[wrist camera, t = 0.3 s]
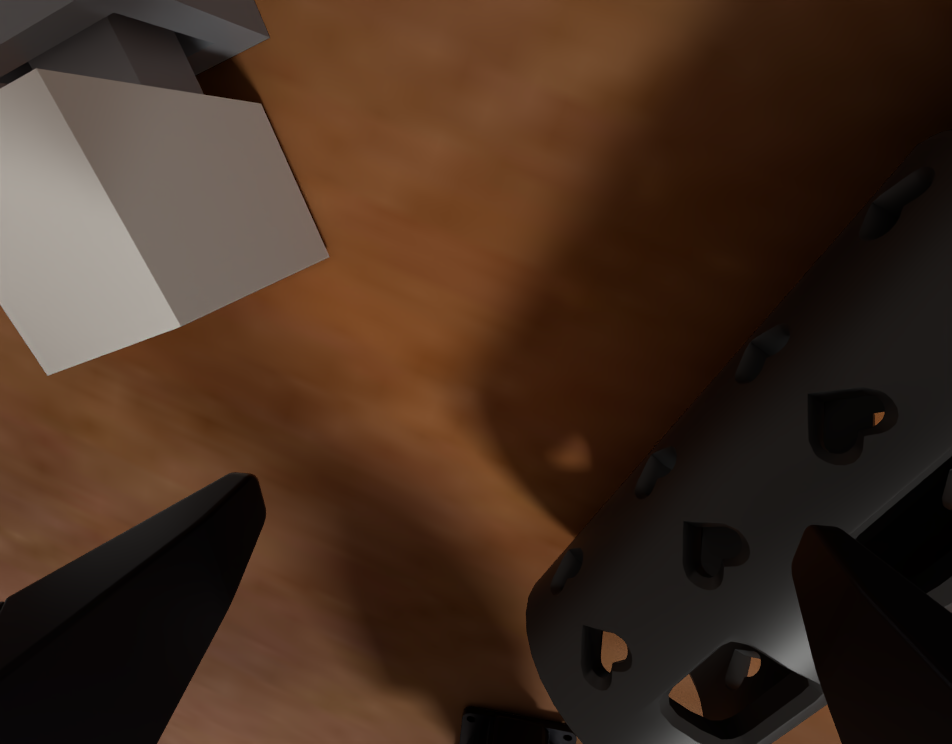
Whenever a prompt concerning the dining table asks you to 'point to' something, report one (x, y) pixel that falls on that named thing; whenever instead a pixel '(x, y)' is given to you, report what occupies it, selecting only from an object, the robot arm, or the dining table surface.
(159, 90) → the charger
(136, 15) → the block
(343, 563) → the dining table surface
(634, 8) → the dining table surface
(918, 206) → the muzzle brake
